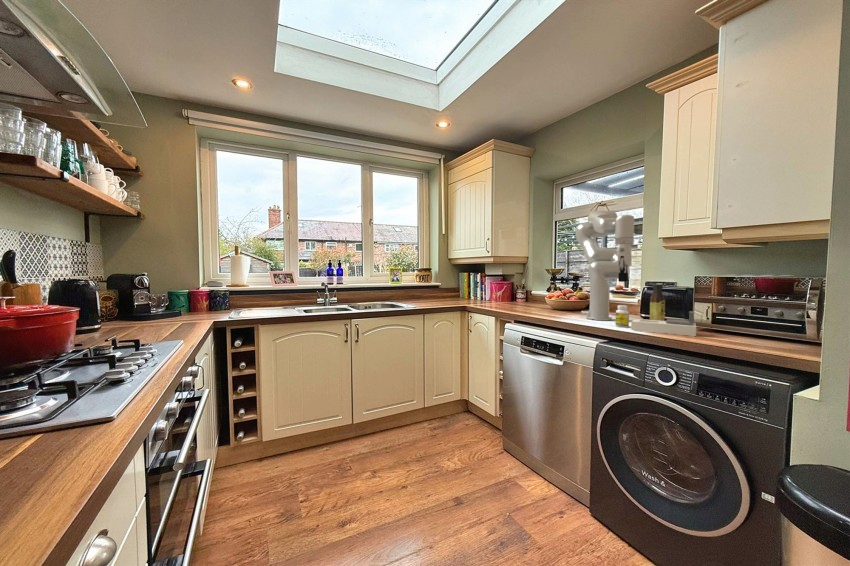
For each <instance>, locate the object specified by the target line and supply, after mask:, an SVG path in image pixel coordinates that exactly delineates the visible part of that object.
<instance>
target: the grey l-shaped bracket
mask: <svg viewBox="0 0 850 566" xmlns="http://www.w3.org/2000/svg"><path fill="white" fill-rule="evenodd" d="M688 315H689V316H688V320H687V319H684V320H683V319H670V318H667V319H666V320H665V321H666V323H674V324H687V325H693V324H694V323H695V322H694V311H691V310H690V311H688Z"/></svg>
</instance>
